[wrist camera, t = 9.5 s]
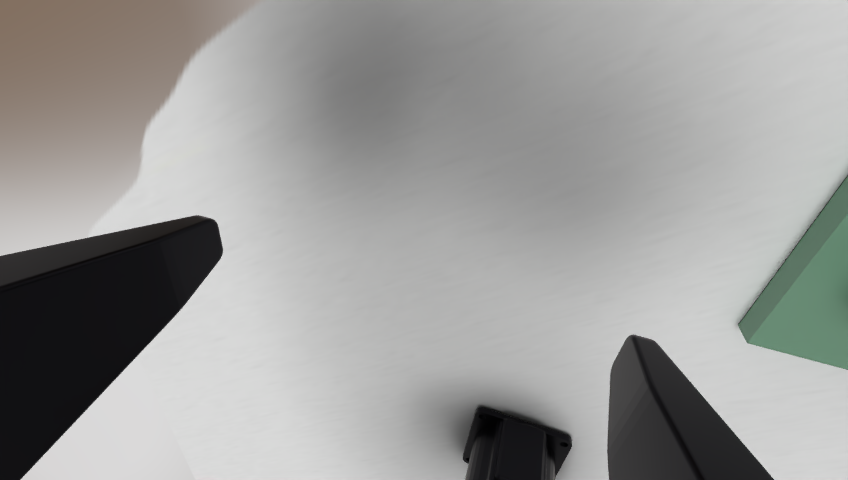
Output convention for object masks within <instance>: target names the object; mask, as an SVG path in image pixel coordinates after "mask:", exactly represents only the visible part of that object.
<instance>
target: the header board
mask: <svg viewBox="0 0 848 480" xmlns="http://www.w3.org/2000/svg"><path fill="white" fill-rule="evenodd" d="M738 326H739V328H740V330H741V332H742V334H743V336H744V338H745V340H746V342H747V343H749V344H753V345H756V346H760V347H764V348H768V349H772V350H775V351H779V352H783V353H787V354H790V355H794V356H798V357H802V358H805V359H809V360H813V361H817V362H821V363H824V364H828V365H832V366H836V367H839V368H843V369H847V370H848V176H847V178H846V179H845V180H844V182H843V183H842V185H841V186H840V187H839V189H838V190H837V191H836V193H835V194H834V196H833V197H832V198H831V200H830V201H829V202H828V204H827V205H826V206H825V208H824V209H823V211H822V212H821V213H820V215H819V216H818V217H817V219H816V220H815V221H814V223H813V224H812V226H811V227H810V228H809V230H808V231H807V232H806V234H805V235H804V236H803V238H802V239H801V241H800V242H799V243H798V245H797V246H796V247H795V249H794V250H793V251H792V253H791V254H790V256H789V257H788V258H787V260H786V261H785V262H784V264H783V265H782V266H781V268H780V269H779V271H778V272H777V273H776V275H775V276H774V277H773V279H772V280H771V281H770V283H769V284H768V286H767V287H766V288H765V290H764V291H763V292H762V294H761V295H760V296H759V298H758V299H757V301H756V302H755V303H754V305H753V306H752V307H751V309H750V310H749V311H748V313H747V314H746V316H745V317H744V318H743V320H742V321H741V322H740V324H739V325H738Z"/></svg>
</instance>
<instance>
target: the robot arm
mask: <svg viewBox="0 0 848 480" xmlns="http://www.w3.org/2000/svg"><path fill="white" fill-rule="evenodd" d="M222 253H223V247H222V242H221V237H220V233H219V228H218V224H217V223H216V221H215V220H213V219H211V218H207V217H204V216H199V215H196V216H191V217H186V218H181V219H176V220H171V221H167V222H162V223H157V224H152V225H147V226H142V227H138V228H133V229H128V230H123V231H118V232H114V233H109V234H104V235H99V236H94V237H90V238H85V239H80V240H75V241H70V242H65V243H61V244H56V245H51V246H47V247H42V248H37V249H32V250H27V251H22V252H17V253H13V254H8V255H3V256H0V480H20V479H21V478H22V477H23V476H24V475H25V474H26V473H27V472H28V471H29V470H30V469H31V468H32V467H33V466H34V465H35V463H37V461H38V460H39V459H40V458H41V457H42V456H43V455H44V454H45V453H46V452H47V451H48V450H49V449H50V448H51V447H52V446H53V445H54V443H55V442H56V441H57V440H58V439H59V438H60V437H61V436H62V435H63V434H64V433H65V432H66V431H67V430H68V429H69V428H70V427H71V426H72V424H73V423H74V422H75V421H76V420H77V419H78V418H79V417H80V416H81V415H82V414H83V413H84V412H85V411H86V410H87V409H88V407H89V406H90V405H91V404H92V403H93V402H94V401H95V400H96V399H97V398H98V397H99V396H100V395H101V394H102V393H103V392H104V391H105V389H106V388H107V387H108V386H109V385H110V384H111V383H112V382H113V381H114V380H115V379H116V378H117V377H118V376H119V375H120V374H121V372H123V370H124V369H125V368H126V367H127V366H128V365H129V364H130V363H131V362H132V361H133V360H134V359H135V358H136V357H137V356H138V355H139V354H140V353H141V351H142V350H143V349H144V348H145V347H146V346H147V345H148V344H149V343H150V342H151V341H152V340H153V339H154V338H155V337H156V336H157V335H158V333H159V332H160V331H161V330H162V329H163V328H164V327H165V326H166V325H167V324H168V323H169V322H170V321H171V320H172V319H173V318H174V316H175V315H176V314H177V313H178V312H179V311H180V310H181V309H182V307H183V306H184V305H185V304H186V302H187V301H188V300H189V299H190V297H191V296H192V295H193V294H194V292H195V291H196V290H197V288H198V287H199V286H200V285H201V283H202V282H203V281H204V279H205V278H206V277H207V276H208V274H209V273H210V272H211V270H212V269H213V268H214V267H215V265H216V264H217V263H218V261H219V260H220V259H221V256H222ZM571 447H572V439H571V437H569V436H568V435H565V434H562V433H559V432H556V431H553V430H550V429H547V428H544V427H541V426H538V425H535V424H532V423H529V422H526V421H523V420H520V419H517V418H514V417H511V416H508V415H505V414H502V413H499V412H496V411H493V410H490V409H487V408H484V407H479V408H477V409H476V412H475V416H474V419H473V423H472V426H471V430H470V433H469V437H468V440H467V444H466V447H465V451H464V455H463V460H464V461H465V462H466V463H468V464H469V465H468V469H467V474H466V479H465V480H555V477H556V475H557V473H558V471H559V469H560V468H561V466H562V464H563V462H564V460H565V458H566V457H567V455H568V453H569V451H570V449H571ZM607 453H608V470H609V480H774V479H773V478H772V477H771V475H770V474H769V473H768V472H767V471H766V470H765V468H764V467H763V466H762V465H761V464H760V463H759V461H758V460H757V459H756V458H755V457H754V456H753V454H752V453H751V452H750V451H749V450H748V449H747V447H746V446H745V445H744V444H743V443H742V442H741V441H740V439H739V438H738V437H737V436H736V435H735V434H734V432H733V431H732V430H731V429H730V428H729V427H728V425H727V424H726V423H725V422H724V421H723V420H722V418H721V417H720V416H719V415H718V414H717V413H716V411H715V410H714V409H713V408H712V407H711V406H710V404H709V403H708V402H707V401H706V400H705V399H704V397H703V396H702V395H701V394H700V393H699V392H698V390H697V389H696V388H695V387H694V386H693V385H692V383H691V382H690V381H689V380H688V379H687V378H686V376H685V375H684V374H683V373H682V372H681V371H680V369H679V368H678V367H677V366H676V365H675V364H674V362H673V361H672V360H671V359H670V358H669V357H668V355H667V354H666V353H665V352H664V351H663V350H662V348H661V347H660V346H659V345H658V344H657V343H656V342H655V341H654V340H651V339H648V338H644V337H641V336H637V335H630V336H629V337H628V338H627V339H626V340H625V342H624V344H623V346H622V348H621V350H620V352H619V353H618V355H617V357H616V359H615V361H614V363H613V365H612V369H611V375H610V396H609V420H608V449H607Z"/></svg>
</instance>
